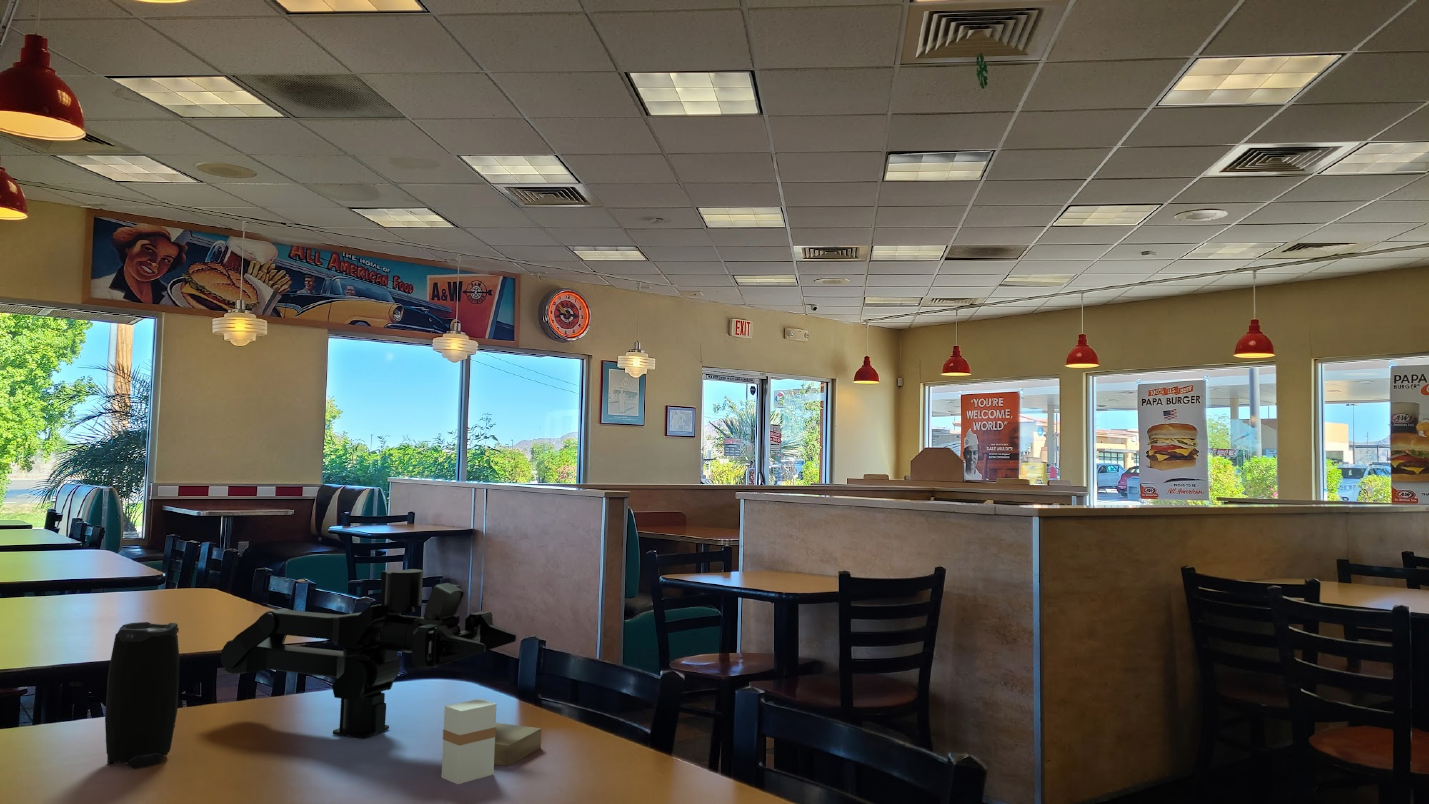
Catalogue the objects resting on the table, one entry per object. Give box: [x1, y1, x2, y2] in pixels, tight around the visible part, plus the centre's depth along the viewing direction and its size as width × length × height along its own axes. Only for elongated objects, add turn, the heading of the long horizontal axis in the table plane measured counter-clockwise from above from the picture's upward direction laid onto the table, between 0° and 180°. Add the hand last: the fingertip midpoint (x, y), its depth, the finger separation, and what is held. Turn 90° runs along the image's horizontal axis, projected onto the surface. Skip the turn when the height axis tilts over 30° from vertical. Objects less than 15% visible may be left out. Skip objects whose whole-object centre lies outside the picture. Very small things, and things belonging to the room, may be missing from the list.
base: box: [494, 722, 542, 767], centre depth 146 cm, size 10×10×3 cm
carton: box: [441, 698, 497, 785], centre depth 135 cm, size 4×6×10 cm
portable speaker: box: [104, 621, 181, 770], centre depth 138 cm, size 9×9×20 cm
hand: (500, 643), depth 148 cm, fingers open, 9 cm apart
